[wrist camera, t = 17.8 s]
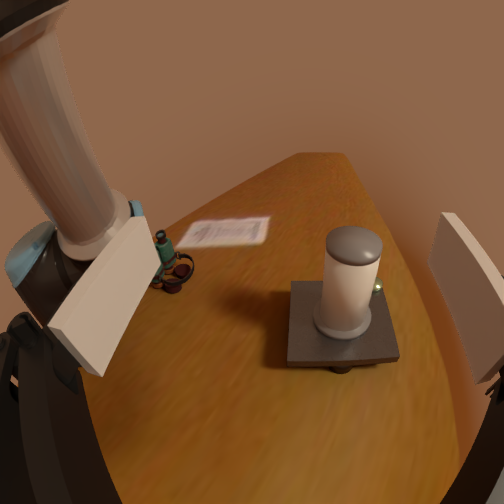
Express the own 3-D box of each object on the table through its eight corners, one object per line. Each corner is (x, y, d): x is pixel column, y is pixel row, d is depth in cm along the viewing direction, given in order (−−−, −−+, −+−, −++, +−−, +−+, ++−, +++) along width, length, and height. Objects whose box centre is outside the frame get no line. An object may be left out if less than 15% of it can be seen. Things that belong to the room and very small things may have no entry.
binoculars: (175, 260, 46) (131, 249, 48) (185, 301, 52) (145, 289, 55) (198, 231, 52) (156, 224, 55) (204, 272, 59) (165, 263, 61)
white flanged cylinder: (313, 341, 36) (320, 265, 28) (312, 295, 44) (315, 222, 35) (374, 339, 35) (399, 264, 27) (365, 295, 42) (380, 222, 34)
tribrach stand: (287, 374, 37) (286, 358, 34) (291, 297, 49) (291, 277, 47) (391, 370, 34) (401, 353, 31) (375, 295, 47) (380, 276, 44)
